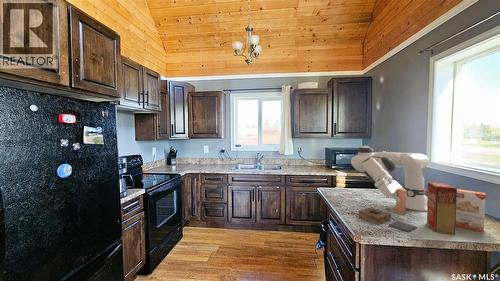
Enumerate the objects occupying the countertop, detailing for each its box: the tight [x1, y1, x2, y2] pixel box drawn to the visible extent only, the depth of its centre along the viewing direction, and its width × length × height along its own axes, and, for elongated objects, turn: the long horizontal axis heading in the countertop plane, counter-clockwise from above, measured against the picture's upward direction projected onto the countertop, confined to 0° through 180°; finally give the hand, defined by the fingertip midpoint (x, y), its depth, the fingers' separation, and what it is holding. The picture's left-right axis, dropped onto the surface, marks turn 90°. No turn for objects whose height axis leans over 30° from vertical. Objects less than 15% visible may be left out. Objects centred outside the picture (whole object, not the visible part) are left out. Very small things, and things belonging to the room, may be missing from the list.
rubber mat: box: [388, 220, 418, 233], centre depth 126 cm, size 10×10×1 cm
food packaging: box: [426, 181, 458, 236], centre depth 124 cm, size 13×9×25 cm
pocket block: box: [358, 207, 392, 225], centre depth 138 cm, size 13×13×4 cm
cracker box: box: [456, 188, 487, 233], centre depth 127 cm, size 14×6×21 cm, turn 45°
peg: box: [395, 188, 407, 216], centre depth 126 cm, size 4×4×14 cm
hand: (402, 200), depth 126 cm, fingers closed on peg, 4 cm apart
